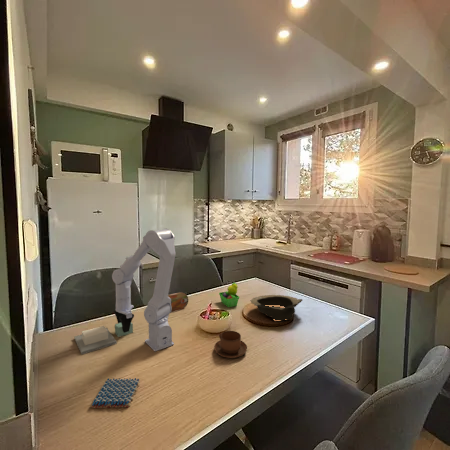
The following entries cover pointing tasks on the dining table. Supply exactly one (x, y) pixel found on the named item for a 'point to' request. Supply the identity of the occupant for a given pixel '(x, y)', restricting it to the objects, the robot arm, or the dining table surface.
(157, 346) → the robot arm
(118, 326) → the brick
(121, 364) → the dining table surface
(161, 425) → the dining table surface
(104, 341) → the baseplate
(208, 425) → the dining table surface
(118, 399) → the woven mat
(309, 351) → the dining table surface
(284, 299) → the stone bowl
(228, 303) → the fruit basket
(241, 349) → the cup and saucer
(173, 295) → the tin
